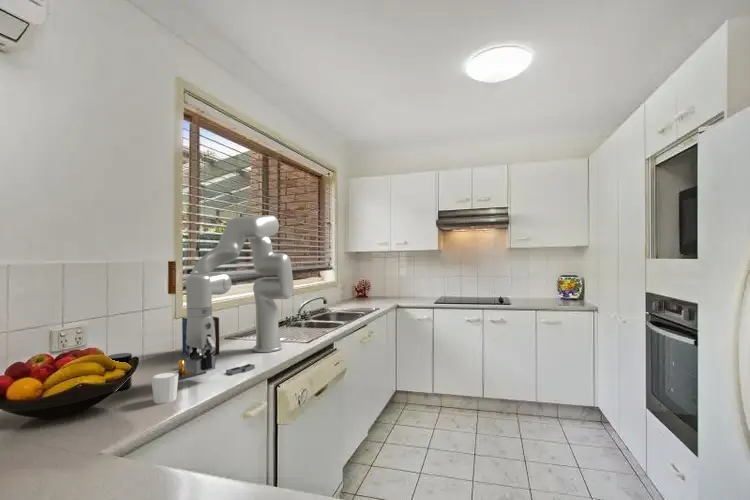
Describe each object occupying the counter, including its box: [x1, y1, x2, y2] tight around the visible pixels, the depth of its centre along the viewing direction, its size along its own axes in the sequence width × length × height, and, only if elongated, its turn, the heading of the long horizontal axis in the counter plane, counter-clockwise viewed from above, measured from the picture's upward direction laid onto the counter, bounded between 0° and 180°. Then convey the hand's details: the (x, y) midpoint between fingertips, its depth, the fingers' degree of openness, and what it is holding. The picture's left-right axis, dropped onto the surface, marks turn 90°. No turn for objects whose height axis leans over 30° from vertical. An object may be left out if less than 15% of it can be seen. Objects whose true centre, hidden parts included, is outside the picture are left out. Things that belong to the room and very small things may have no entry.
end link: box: [185, 355, 216, 374], centre depth 128 cm, size 6×6×4 cm
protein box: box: [181, 315, 220, 357], centre depth 167 cm, size 10×15×16 cm
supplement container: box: [107, 352, 133, 393], centre depth 121 cm, size 7×7×10 cm
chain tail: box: [225, 363, 256, 376], centre depth 139 cm, size 10×4×1 cm, turn 145°
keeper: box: [176, 359, 207, 382], centre depth 134 cm, size 11×7×6 cm, turn 145°
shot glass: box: [150, 371, 179, 405], centre depth 111 cm, size 7×7×7 cm
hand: (200, 367), depth 128 cm, fingers closed on end link, 6 cm apart
